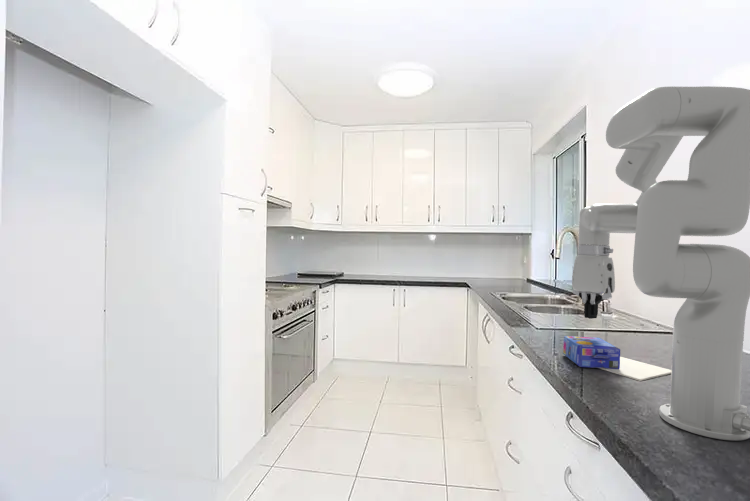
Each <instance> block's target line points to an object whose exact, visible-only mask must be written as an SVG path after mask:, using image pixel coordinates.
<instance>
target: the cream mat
mask: <svg viewBox="0 0 750 501" xmlns="http://www.w3.org/2000/svg"><path fill="white" fill-rule="evenodd" d="M598 369H600V370H604V371H607V372H609V373H613V374H616V375H619V376H622V377H625V378H629V379H632V380H636V381H640V382H641V381H645V380H650V379H654V378H658V377H662V376H666V375H671V369H669V368H664V367H661V366H658V365H654V364H649V363H646V362H643V361H638V360H634V359H631V358H627V357H623V356H620V368H619V369H610V368H598Z"/></svg>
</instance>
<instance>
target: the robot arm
mask: <svg viewBox="0 0 750 501" xmlns="http://www.w3.org/2000/svg"><path fill="white" fill-rule="evenodd" d="M684 137H703V138H702V139H701V140H700V142H699V143H698V144H697V145H696V147H695V148H694V150H693V151H692V153H691V155H690V159H689V163H688V164H689V165H688V175H687V179H685V180H680V179H679V180H677V179H676V180H675V179H674V180H673V179H670V180H669V179H668V180H662V181H659V182H658V181H657V178H658V176H659V175H660V173H661V172H662V170H663V169H664V167H665V166H666V164H667V163H668V161H669V159H670V157H671V156H672V155H673V153H674V152H675V150H676V149H677V147H678V146H679V144H680V142H681V140H682V139H683V138H684ZM605 140H606V141H605V142H606V143H607V144H608V146H609V147H610V148H613V149H616V150H624V152H623V153H622V156H620V158H619V161H618V163H617V165H616V167H615V174H616V176H617V178H618V179H619V180H620V181H621V182H623V183H624V184H625V185H627V186H630V187H632V188H634V189H636V190H638V191H640V192H641V194H640V195H639V196H638V198H637V200H636V201H635V203H594V204H592V205H590V206H586V207H582V208H581V209H580V212H579V221H578V244H577V246H578V248H577V255H576V256H575V259H574V263H573V268H572V277H571V287H572V289H573V290H572V294H573V295H576V296H578V297H579V298H580V299H581V300H582V303H583V304H584V306H583V309H584V310H583V312H584V318H585V319H597V318H598V315H599V305H601V302H602V301H604V300H610V299H612V298H613V295H612V294H613V293H614V292H615V288H616V284H615V283H616V281H615V280H616V279H615V278H616V277H615V266H614V260H613V257H609V256H610V254H613V252H614V249H613V248H612V247H610V238H611V237H610V234H635V235H634V245H633V246H634V247H633V258H632V261H633V262H632V274H633V275H632V276H633V281H634V283H635V284H634V285H635V286H636V287H637V289H638V290H639V291H640V292H641V293H642V294H643V295H646V296H649V297H653V298H666V299H667V298H668V299H685V301H684V302H683V303H682V305H681V306H680V307H679V309H678V311H677V312H676V314H675V318H674V320H673V328H672V329H673V331H672V346H671V347H672V348H671V350H672V351H671V368H670V370H671V374H670V392H669V394H670V395H669V403H665V404H662V405H660V407H659V408H658V414H659V417H661V419H662V420H664V421H665V423H668V424H670V425H671V426H673V427H675V428H679V429H681V430H682V431H686V432H689V433H692V434H695V435H699V436H702V437H707V438H711V439H716V440H722V441H723V440H724V441H745V440H748V439H750V414H749V413H748V406H747V405H744V404H741V390H742V371H743V354H744V353H743V351H744V350H743V349H744V340H745V339H744V338H745V327H746V326H745V324H746V317H747V316H746V314H747V309H748V305H749V300H750V256H749V255H748V254H747V253H746V252H744V251H743V250H741V249H739V248H736V247H734V246H729V245H724V244H711V243H709V244H708V243H707V244H706V243H680V240H681V237H724V236H725V237H727V236H731V235H735V234H737V233H740V231H742V230H743V229H744V228H745V226H746V224H747V222H748V219H749V214H750V89H748V88H743V87H735V86H733V87H732V86H704V85H703V86H661V87H654V88H651V89H649V90H647V91H645V92H644V93H642V94H641V95H639V96H637V97H636V98H634V99H632V100H631V101H629V102H627V103H626V104H625V105H623V106H622V107H620V108H619V109H618V110H617V111H616V112H615V113H614V114H613V116H612V117H611V119H610V120H609V122H608V124H607V127H606V131H605Z"/></svg>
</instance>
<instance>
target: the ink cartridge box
mask: <svg viewBox="0 0 750 501" xmlns="http://www.w3.org/2000/svg"><path fill="white" fill-rule="evenodd" d="M562 354H563V355H564V356H565V357H566V358H568V359H569V360H570V361H572V362H573V363H575V365H577V366H578V367H580V368H592V369H594V368H596V369H599V368H610V369H619V368H620V357H621V348H619V347H617V346H615V345H614V344H612V343H610V342H608V341H606V340H605V339H603V338H601V337H594V336H592V337H591V336H590V337H589V336H575V335H564V336H563V342H562Z"/></svg>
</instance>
